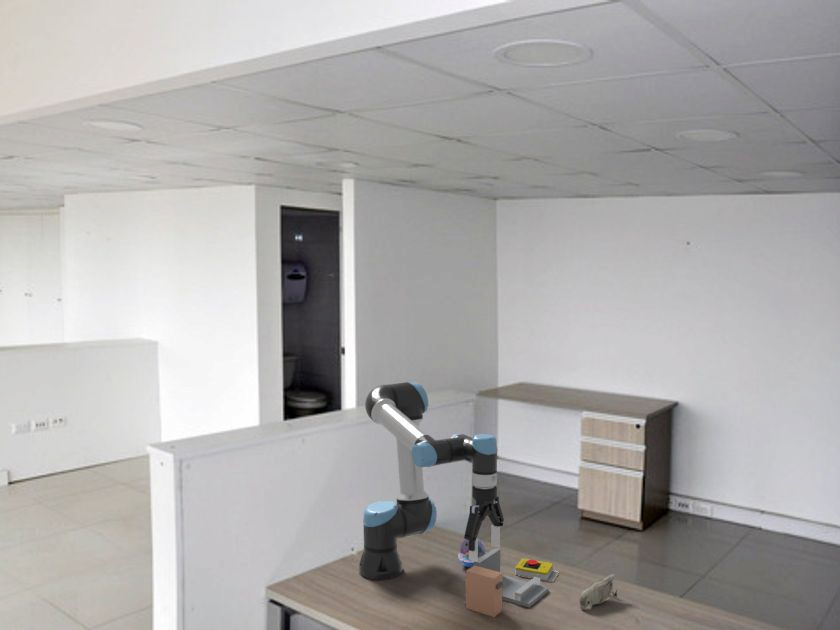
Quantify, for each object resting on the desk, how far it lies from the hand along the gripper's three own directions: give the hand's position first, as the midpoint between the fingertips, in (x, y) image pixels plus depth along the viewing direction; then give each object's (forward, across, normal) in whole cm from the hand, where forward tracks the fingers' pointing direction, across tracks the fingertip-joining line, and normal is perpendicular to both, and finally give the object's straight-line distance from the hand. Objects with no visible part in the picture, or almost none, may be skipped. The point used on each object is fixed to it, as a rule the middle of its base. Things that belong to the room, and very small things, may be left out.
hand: (484, 553), depth 226 cm
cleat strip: (+17, +16, -7) cm, 24 cm away
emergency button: (+18, +34, -1) cm, 38 cm away
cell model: (+18, +26, +20) cm, 38 cm away
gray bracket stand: (+18, +16, -1) cm, 24 cm away
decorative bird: (+18, +24, -27) cm, 41 cm away
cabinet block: (+18, 0, 0) cm, 18 cm away
